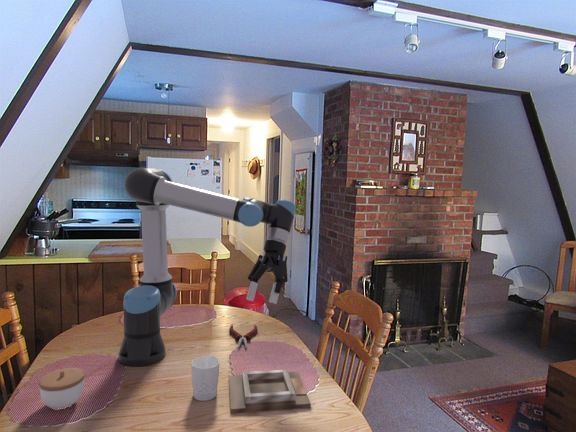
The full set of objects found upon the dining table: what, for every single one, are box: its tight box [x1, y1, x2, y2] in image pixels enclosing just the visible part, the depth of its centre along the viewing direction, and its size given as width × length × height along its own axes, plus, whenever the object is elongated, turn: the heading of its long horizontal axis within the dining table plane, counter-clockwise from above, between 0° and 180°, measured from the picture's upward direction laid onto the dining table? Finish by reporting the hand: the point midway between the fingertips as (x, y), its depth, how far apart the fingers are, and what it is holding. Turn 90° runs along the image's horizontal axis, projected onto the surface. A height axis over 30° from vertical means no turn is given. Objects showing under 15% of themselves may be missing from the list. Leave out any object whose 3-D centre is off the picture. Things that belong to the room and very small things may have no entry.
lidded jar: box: [38, 367, 85, 409], centre depth 109 cm, size 11×11×9 cm
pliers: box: [228, 324, 258, 349], centre depth 156 cm, size 12×20×3 cm, turn 5°
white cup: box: [190, 355, 220, 402], centre depth 116 cm, size 8×8×10 cm
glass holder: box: [228, 369, 312, 414], centre depth 118 cm, size 22×18×3 cm
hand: (260, 301), depth 136 cm, fingers open, 13 cm apart
